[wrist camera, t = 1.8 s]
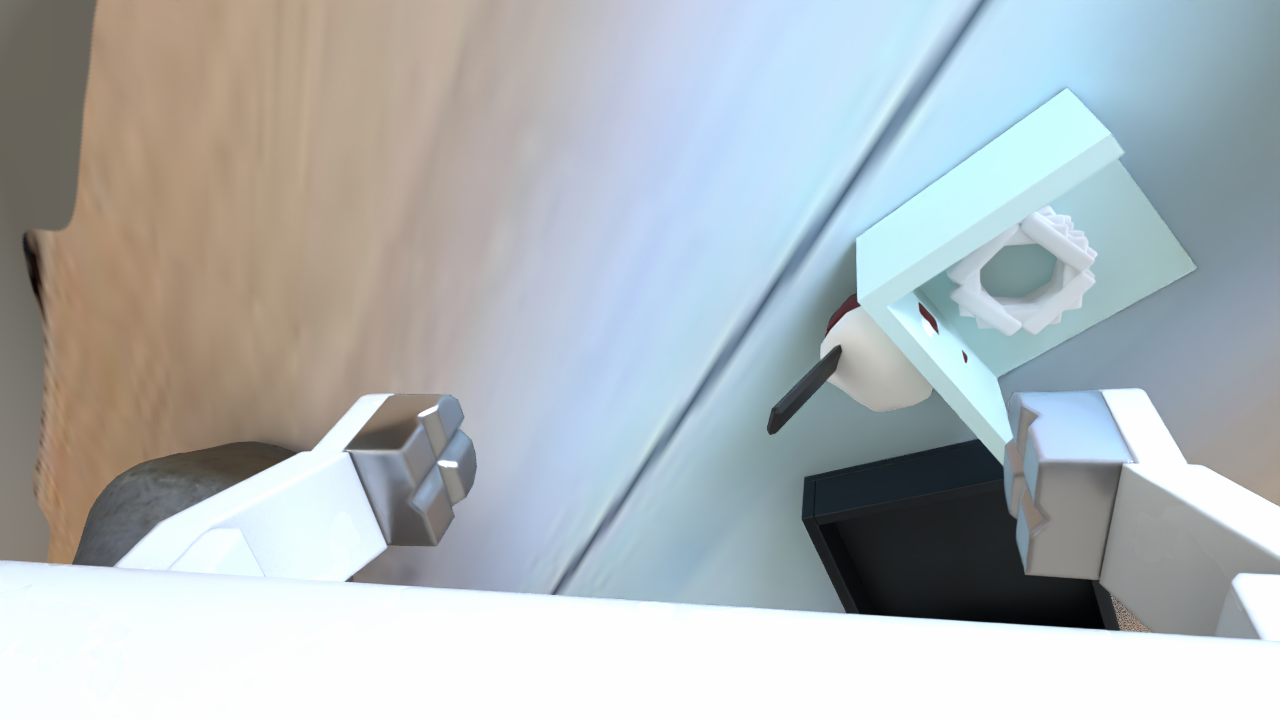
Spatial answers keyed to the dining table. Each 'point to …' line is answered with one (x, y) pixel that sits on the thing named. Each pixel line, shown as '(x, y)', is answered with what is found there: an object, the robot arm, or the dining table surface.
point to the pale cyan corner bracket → (1014, 257)
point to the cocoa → (860, 366)
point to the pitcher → (165, 495)
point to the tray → (937, 544)
